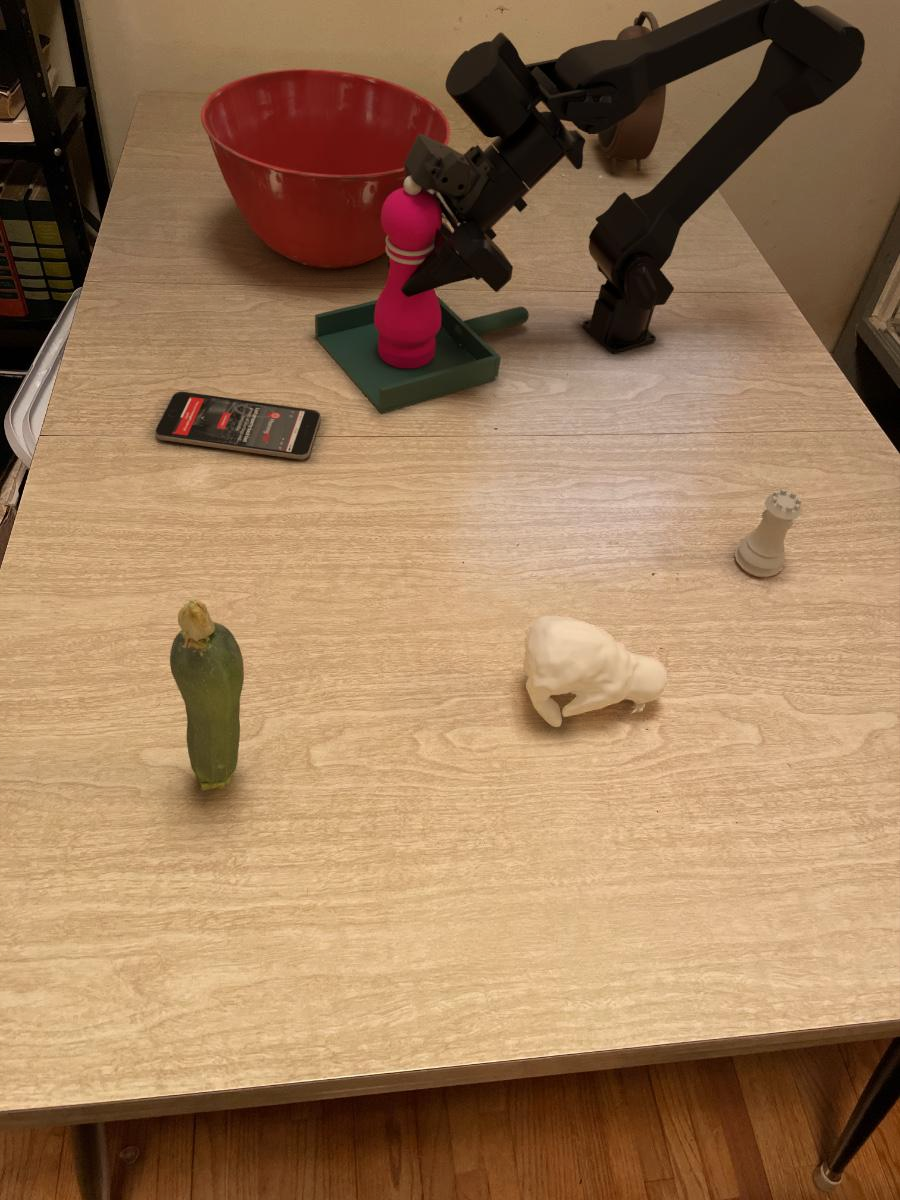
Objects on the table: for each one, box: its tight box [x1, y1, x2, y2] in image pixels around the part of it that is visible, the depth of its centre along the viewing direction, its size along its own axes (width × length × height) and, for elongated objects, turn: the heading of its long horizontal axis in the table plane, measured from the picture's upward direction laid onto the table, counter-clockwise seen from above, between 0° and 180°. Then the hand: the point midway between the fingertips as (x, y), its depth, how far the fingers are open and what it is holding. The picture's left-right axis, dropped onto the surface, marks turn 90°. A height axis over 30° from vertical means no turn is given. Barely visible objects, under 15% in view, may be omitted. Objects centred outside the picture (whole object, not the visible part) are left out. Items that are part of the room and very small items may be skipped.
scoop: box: [314, 295, 530, 414], centre depth 107 cm, size 24×15×3 cm, turn 122°
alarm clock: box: [597, 10, 667, 175], centre depth 139 cm, size 15×7×20 cm, turn 6°
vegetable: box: [169, 598, 245, 791], centre depth 62 cm, size 4×4×20 cm
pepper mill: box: [374, 175, 442, 369], centre depth 99 cm, size 7×7×20 cm
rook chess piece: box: [734, 488, 803, 578], centre depth 87 cm, size 4×4×8 cm
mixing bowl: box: [200, 68, 451, 270], centre depth 116 cm, size 28×28×16 cm
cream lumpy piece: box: [522, 615, 668, 728], centre depth 74 cm, size 6×8×12 cm
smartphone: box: [154, 391, 322, 461], centre depth 95 cm, size 7×1×15 cm
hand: (397, 281), depth 99 cm, fingers closed on pepper mill, 4 cm apart
